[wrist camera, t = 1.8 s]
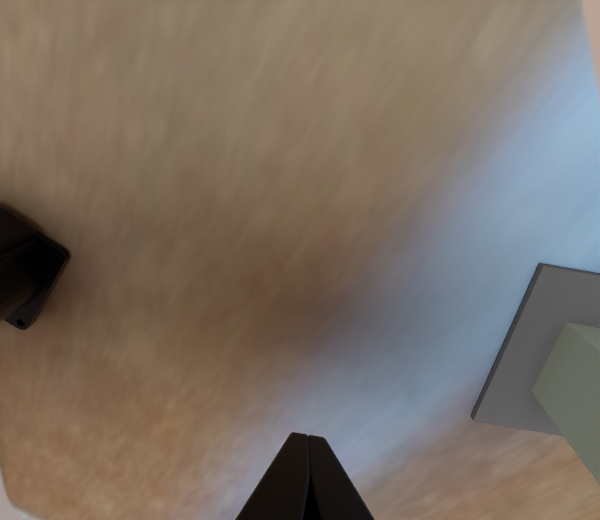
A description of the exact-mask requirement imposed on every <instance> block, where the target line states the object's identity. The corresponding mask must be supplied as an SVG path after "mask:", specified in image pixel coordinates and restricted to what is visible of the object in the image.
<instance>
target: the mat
mask: <svg viewBox="0 0 600 520" xmlns="http://www.w3.org/2000/svg"><path fill="white" fill-rule="evenodd" d="M566 322H569V323H575V324H581V325H587V326H592V327H598V328H599V329H600V274H599V273H593V272H588V271H582V270H576V269H570V268H565V267H559V266H553V265H548V264H542V263H539V265H538V267H537V270H536V272H535V274H534V276H533V278H532V281H531V283H530V285H529V287H528V290H527V292H526V294H525V296H524V299H523V301H522V303H521V305H520V307H519V310H518V312H517V314H516V316H515V319H514V321H513V323H512V325H511V328H510V330H509V332H508V334H507V337H506V339H505V341H504V343H503V345H502V348H501V350H500V352H499V354H498V357H497V359H496V361H495V363H494V366H493V368H492V370H491V372H490V374H489V377H488V379H487V381H486V383H485V386H484V388H483V390H482V392H481V395H480V397H479V399H478V401H477V404H476V406H475V408H474V410H473V412H472V415H471V417H472V419H473V421H478V422H484V423H490V424H495V425H501V426H507V427H513V428H519V429H525V430H531V431H537V432H543V433H548V434H554V435H560V436H564V435H563V434H562V433H561V431H560V430H559V429H558V427H557V426H556V425H555V423H554V422H553V420H552V419H551V418H550V416H549V415H548V414H547V412H546V411H545V410H544V408H543V407H542V406H541V404H540V403H539V401H538V400H537V399H536V397H535V396H534V395H533V393H532V392H531V390H532V388H533V386H534V384H535V382H536V380H537V378H538V376H539V374H540V372H541V370H542V368H543V366H544V364H545V363H546V361H547V359H548V357H549V355H550V353H551V351H552V349H553V347H554V345H555V343H556V341H557V339H558V337H559V335H560V333H561V331H562V329H563V327H564V325H565V323H566Z"/></svg>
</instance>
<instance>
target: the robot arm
mask: <svg viewBox="0 0 600 520" xmlns="http://www.w3.org/2000/svg"><path fill="white" fill-rule="evenodd" d="M56 254H58V255H59V256H60V258H58V257H57V256H56ZM68 259H69V254H68V252H67V251H66V250H65V249H64V248H62V247H61V246H59V245H58V244H56V243H55V242H53V241H51V240H50V239H48V238H47V237H45V236H44V235H42V234H41V233H39V232H37V231H36V230H34V229H33V228H32V227H30V226H28V225H27V224H25V223H24V222H22V221H21V220H19V219H17V218H16V217H14V216H13V215H11V214H10V213H8V212H7V211H5V210H3V209H2V208H0V322H1V321H3V320H5V321H6V322H8V323H10V324H12V325H13V326H15V327H17V328H19V329H21V330H25V329H27V328H29V327H30V326H31V325H32V324H33V323H34V321H35V319H36V317H37V316H38V314H39V312H40V310H41V308H42V307H43V305H44V303H45V301H46V299H47V298H48V296H49V294H50V292H51V290H52V289H53V287H54V285H55V283H56V281H57V280H58V278H59V276H60V274H61V272H62V271H63V269H64V267H65V265H66V263H67V261H68ZM22 320H23V321H24V322H23V321H22ZM235 520H375V519H374V518H373V516H372V514H371V513H370V511H369V509H368V508H367V506H366V505H365V503H364V501H363V500H362V498H361V496H360V495H359V493H358V491H357V490H356V488H355V487H354V485H353V483H352V482H351V480H350V478H349V477H348V475H347V473H346V472H345V470H344V469H343V467H342V465H341V464H340V462H339V460H338V459H337V457H336V455H335V454H334V452H333V450H332V449H331V447H330V446H329V444H328V442H327V441H326V439H325V438H323V437H319V436H313V435H309V436H307V435H306V434H301V433H295V432H292V433H291V434H290V435H289V437H288V438H287V440H286V441H285V443H284V444H283V446H282V448H281V449H280V451H279V452H278V454H277V455H276V457H275V458H274V460H273V462H272V463H271V465H270V466H269V468H268V469H267V471H266V473H265V474H264V476H263V477H262V479H261V480H260V482H259V484H258V485H257V487H256V488H255V490H254V491H253V493H252V494H251V496H250V498H249V499H248V501H247V502H246V504H245V505H244V507H243V509H242V510H241V512H240V513H239V515H238V516H237V518H236V519H235Z"/></svg>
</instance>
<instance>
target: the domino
mask: <svg viewBox="0 0 600 520" xmlns="http://www.w3.org/2000/svg"><path fill="white" fill-rule="evenodd" d="M531 392H532V393H533V395H534V396H535V397H536V399H537V400H538V401H539V403H540V404H541V406H542V407H543V408H544V410H545V411H546V412H547V414H548V415H549V416H550V418H551V419H552V420H553V422H554V423H555V425H556V426H557V427H558V429H559V430H560V431H561V433H562V434H563V435H564V437H565V438H566V440H567V441H568V442H569V444H570V445H571V446H572V448H573V449H574V450H575V452H576V453H577V455H578V456H579V457H580V459H581V460H582V461H583V463H584V464H585V465H586V467H587V468H588V469H589V471H590V472H591V474H592V475H593V476H594V478H595V479H596V480H597V482H598V483H599V484H600V329H599V328H598V327H592V326H587V325H581V324H575V323H569V322H566V323H565V325H564V327H563V329H562V331H561V333H560V335H559V337H558V339H557V341H556V343H555V345H554V347H553V349H552V351H551V353H550V355H549V357H548V359H547V361H546V363H545V364H544V366H543V368H542V370H541V372H540V374H539V376H538V378H537V380H536V382H535V384H534V386H533V388H532V390H531Z"/></svg>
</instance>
